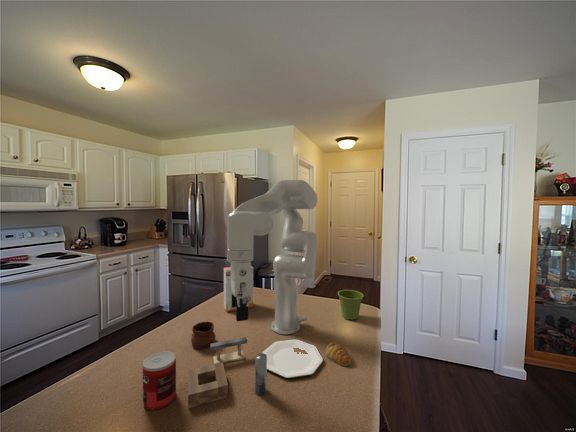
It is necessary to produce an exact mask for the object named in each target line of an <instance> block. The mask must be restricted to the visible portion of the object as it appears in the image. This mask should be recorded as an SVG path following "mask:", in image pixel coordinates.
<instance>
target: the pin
mask: <svg viewBox="0 0 576 432" xmlns="http://www.w3.org/2000/svg"><path fill="white" fill-rule="evenodd" d="M254 359H255V360H254V361H255V367H254V368H255V369H254V372H255V373H254V376H255V377H254V393H255V394H256V395H257V396H263V395H265V394H266V393H267V377H268V376H267V374H268V373H267V371H268V370H267V355H266V354H264V353H263V352H261V353H257V354H256V355H255V357H254Z"/></svg>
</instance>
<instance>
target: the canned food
mask: <svg viewBox="0 0 576 432" xmlns="http://www.w3.org/2000/svg"><path fill="white" fill-rule="evenodd" d="M176 394H177V357H176V354H175V352H173V351H169V350H165V351H164V350H163V351H158V352H154V353H152V354H151V355H149V356H147V357H146V358H145V359H144V360H143V362H142V403H143V406H144V407H145V408H146V409H147V410H151V411H152V410H153V411H155V410H160V409H163V408H165V407H167V406H169V405H170V404H171V403H172V402H173V400H174V399H175V397H176Z"/></svg>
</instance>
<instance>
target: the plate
mask: <svg viewBox="0 0 576 432" xmlns="http://www.w3.org/2000/svg"><path fill="white" fill-rule="evenodd" d="M293 348H299V349H301V350H305V351H306V352H307V353H308V354H303V353H302V354H301V352H299V354H297V352H294V349H293ZM262 353H264V354H266V355H267V371H269V372H271V373H273V374H276V375H278V376H280V377H281V378H285V379H289V380H290V379H294V378H299V377H300V378H301V377H308V376H312V375H314V374H315V372H316V371H317V370H318V369H319V367H320V366H321V365H322V364H323V362H324V358H323V357H322V355H321V354H320V352H319V350H318V348H317V346H315V345H313V344H311V343H308V342H305V341H302V340H299V339H289V340H287V339H286V340H277V341H274V342H273V343H272V344H270V346H268V347H267V348H266V349H264V350H263V351H262Z"/></svg>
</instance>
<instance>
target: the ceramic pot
mask: <svg viewBox="0 0 576 432" xmlns="http://www.w3.org/2000/svg"><path fill="white" fill-rule="evenodd" d="M214 329H215V324H214V322H212V321H200V322H198V323H196V324H195V325H193V326H192V328H191V331H192V333H193V334H192V336H191V339H190V342H191V346H192V348H193V349H196V348H197V349H196V350H203V348H204V349H206V348H210V344H212V343H215V342H216V333H215V332H214Z"/></svg>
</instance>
